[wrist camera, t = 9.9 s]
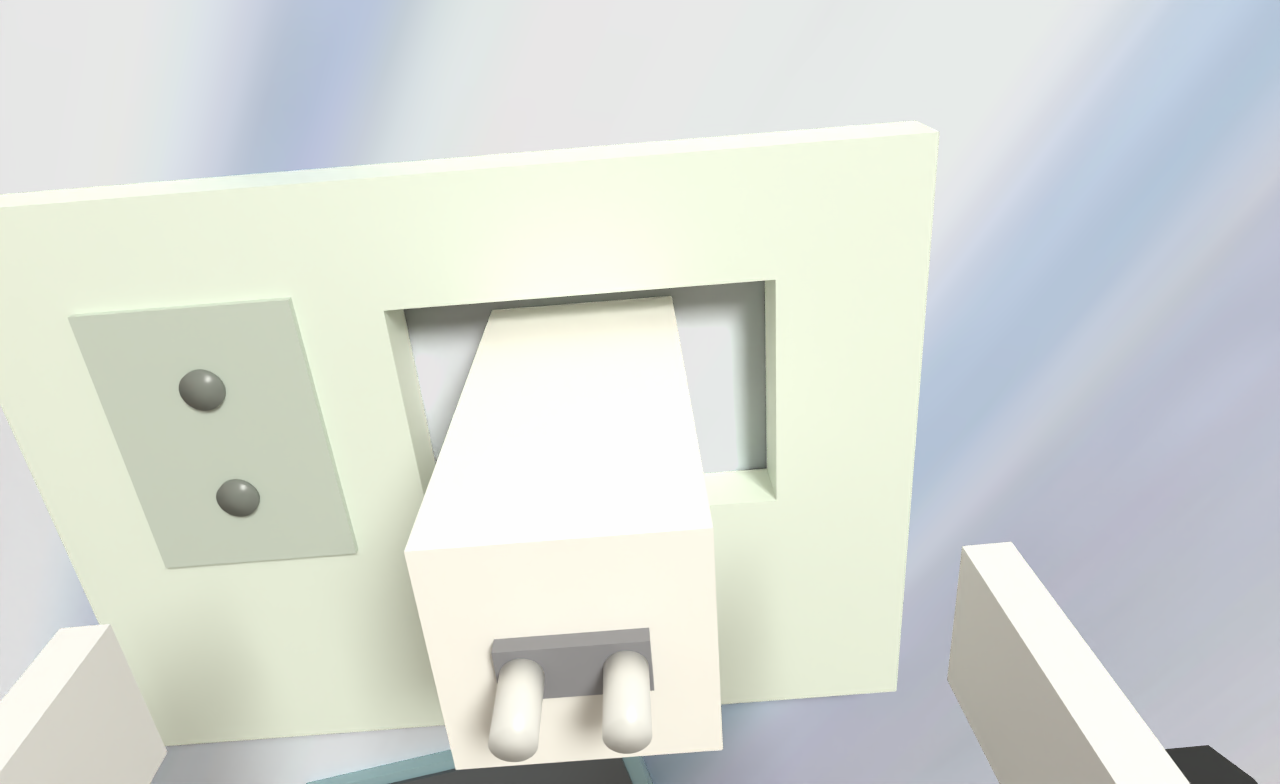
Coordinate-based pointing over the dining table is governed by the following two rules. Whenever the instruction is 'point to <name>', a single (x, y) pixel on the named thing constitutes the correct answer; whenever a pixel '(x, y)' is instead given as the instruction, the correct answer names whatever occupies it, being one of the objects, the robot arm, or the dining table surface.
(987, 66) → the dining table surface
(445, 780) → the phone
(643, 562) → the charger
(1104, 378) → the dining table surface
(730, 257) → the outlet plate
